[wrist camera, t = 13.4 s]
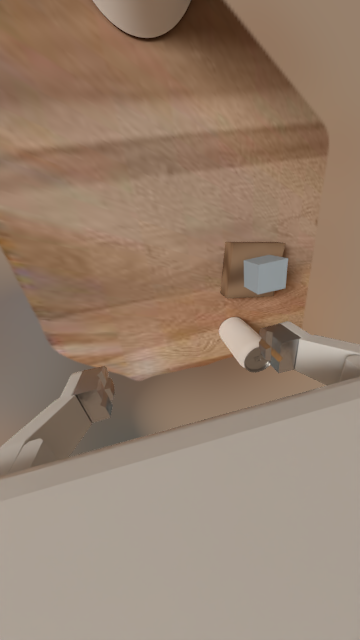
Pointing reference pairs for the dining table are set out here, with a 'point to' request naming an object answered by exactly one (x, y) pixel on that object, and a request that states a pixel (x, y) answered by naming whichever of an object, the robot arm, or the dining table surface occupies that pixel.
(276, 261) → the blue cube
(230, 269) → the walnut block
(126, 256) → the dining table surface
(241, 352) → the can
